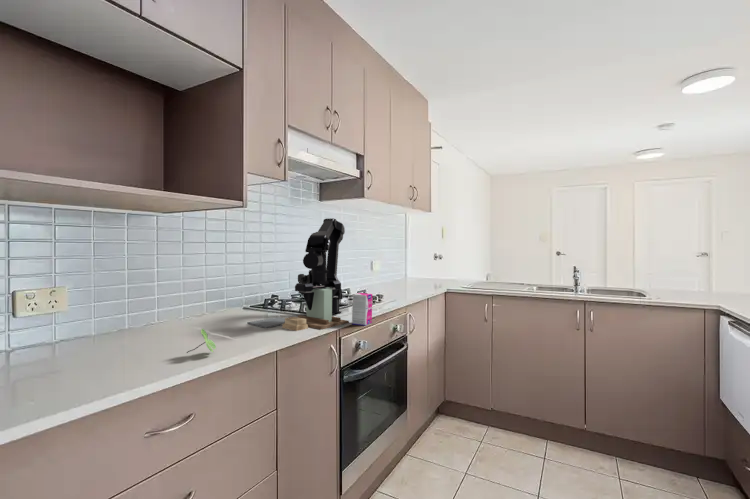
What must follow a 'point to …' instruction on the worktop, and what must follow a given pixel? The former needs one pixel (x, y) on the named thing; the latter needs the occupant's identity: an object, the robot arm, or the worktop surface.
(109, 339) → the worktop surface
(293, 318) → the offcut upper
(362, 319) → the supplement box
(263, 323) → the mat
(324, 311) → the sage green block
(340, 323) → the rack
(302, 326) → the offcut lower
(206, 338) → the seedling
